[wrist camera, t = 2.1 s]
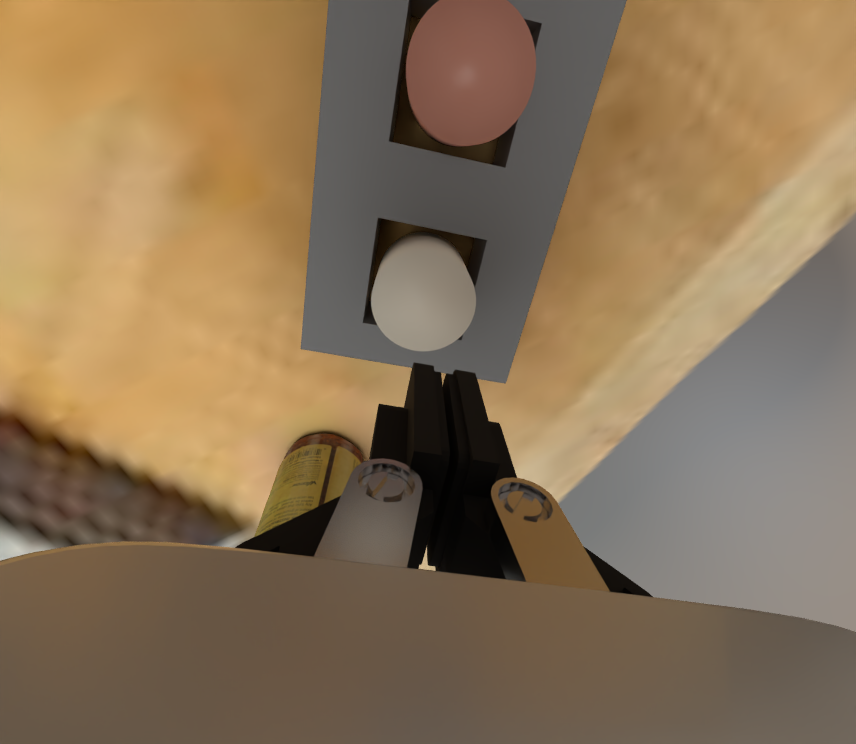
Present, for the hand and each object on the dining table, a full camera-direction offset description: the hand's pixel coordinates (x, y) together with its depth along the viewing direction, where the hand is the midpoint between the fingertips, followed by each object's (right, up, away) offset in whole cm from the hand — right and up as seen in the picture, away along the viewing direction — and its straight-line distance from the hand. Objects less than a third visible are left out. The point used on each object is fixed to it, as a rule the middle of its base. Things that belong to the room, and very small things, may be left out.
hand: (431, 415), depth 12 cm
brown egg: (+1, +14, +9) cm, 17 cm away
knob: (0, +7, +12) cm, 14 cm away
